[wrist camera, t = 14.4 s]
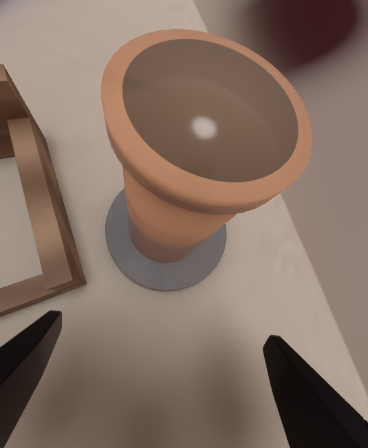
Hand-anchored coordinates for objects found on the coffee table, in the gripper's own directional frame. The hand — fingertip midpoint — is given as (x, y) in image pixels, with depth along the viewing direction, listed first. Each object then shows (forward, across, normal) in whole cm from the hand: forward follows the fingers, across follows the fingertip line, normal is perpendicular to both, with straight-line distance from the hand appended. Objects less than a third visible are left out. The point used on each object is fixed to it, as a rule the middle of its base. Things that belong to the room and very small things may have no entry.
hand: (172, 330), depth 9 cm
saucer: (+12, 0, +1) cm, 12 cm away
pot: (+11, 0, 0) cm, 11 cm away
